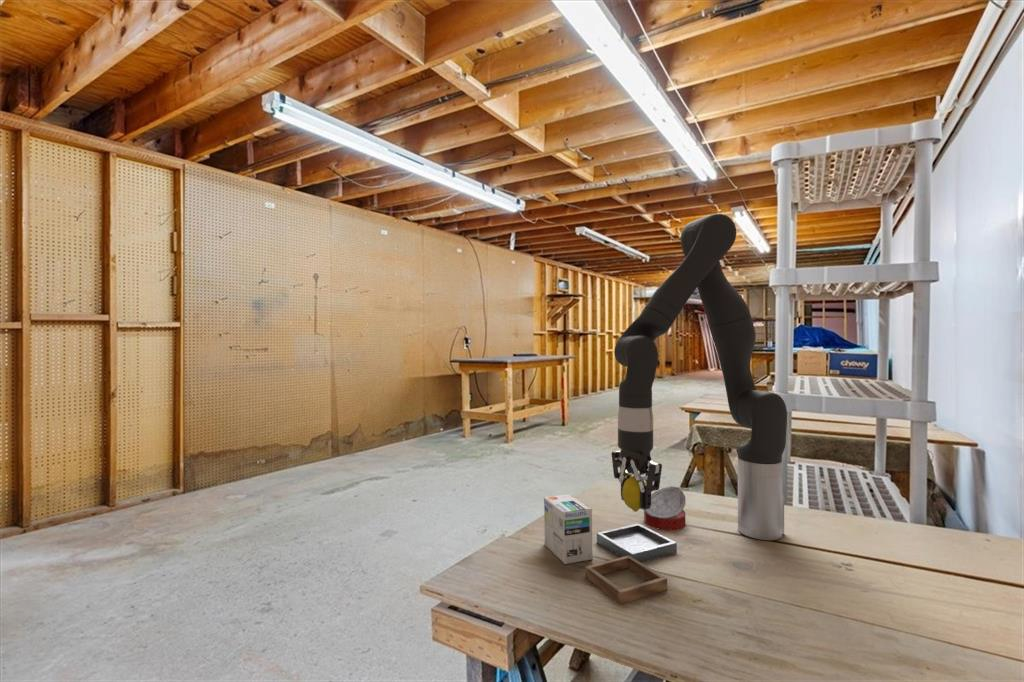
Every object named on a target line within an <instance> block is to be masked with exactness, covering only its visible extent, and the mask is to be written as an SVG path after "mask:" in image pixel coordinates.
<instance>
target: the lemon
mask: <svg viewBox="0 0 1024 682" xmlns="http://www.w3.org/2000/svg"><path fill="white" fill-rule="evenodd" d="M644 484H645V486H647V484H646V481H645V480H644ZM640 492H641V490H640V486H639V482H638V481H636V478H635V475H634V474H633V475H632V477H630V478H628V479H627V480H626V481H625V483H624V486H623V491H622V495H623V500H624V501H623V500H622V501H623V502H624V504H625V505H626V506H627V507H628V508H629V509H631V510H632V511H633V512H635V513H637V512H638V511H639V510H642V509H641V508H640Z"/></svg>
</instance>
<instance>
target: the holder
mask: <svg viewBox="0 0 1024 682" xmlns="http://www.w3.org/2000/svg"><path fill="white" fill-rule="evenodd" d="M626 569H630V570H631V571H632V572H634V573H636V574H637V575H639V576H641V577H642V578H643V579H645V580H647V581H644V582H642V583H641V582H640V583H639V584H638V583H637V584H635V585H632V586H628V587H626V588H620V587H619V586H618V585H617V584H615V583H614V582H612V581H610V580H609V579H608V578H606V577H605V576H604V575H607V574H611V573H615V572H618V571H622V570H626ZM584 570H585V571H584V572H585V573H584V574H585V575H584V577H585V579H587V580H588V581H589V582H591V583H593V584H594V585H595V586H596V587H597V588H599V589H600V590H602V591H603V592H604V593H606V595H608V596H609V597H611V598H612V599H613V600H614V601H616V602H617V603H619V604H620V605H624V604H626V603H629V602H632V601H635V600H639V599H642V598H646V597H648V596H651V595H655V594H657V593H658V594H659V593H662V592H665V591H667V590H668V578H667V577H665V576H664V575H662V574H660V573H659V572H657V571H655V570H654V569H652V568H651V567H649V566H647V565H646V564H644V563H643V562H642V563H641V562H639V561H637V560H636V559H634V558H632V557H631V556H629V555H628V556H625V557H621V558H620V557H618V558H614V559H610V560H606V561H601V562H599V563H595V564H591V565H587V566H585V567H584Z"/></svg>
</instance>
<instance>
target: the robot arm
mask: <svg viewBox="0 0 1024 682" xmlns="http://www.w3.org/2000/svg"><path fill="white" fill-rule="evenodd" d="M736 237H737V226H736V223H735V222H734V220H733V219H732V218H731V217H729V216H728V215H726V214H725V213H724V214H723V213H712V214H708V215H706V216H703V217H701V218H697V219H695V220H692V221H691V222H688V223H686V225H685V226H684V227H683V228H682V230H681V233H680V246H681V250H682V253H683V255H684V260H683V261H682V262H681V263H680V264H679V265H678V266H677V268H675V270H674V271H673V272H672V273H671V274H670V275H669V276H667V278H665V280H664V281H662V283H661V284H660V285H659V286H658V287H657V288H656V289H655V290H654V292H653V293H652V295H651V297H650V298H649V299H648V301H647V303H646V305H645V306H643V309H642V310H641V312H640V314H639V316H638V317H636V319H634V321H632V322H631V324H630V325H629V326H628V327H627V328H626V329H625V331H624V332H623V333H622V334H621V335H620V337H619V338H618V340H617V342H616V343H615V346H614V351H613V353H614V358H615V360H616V361H617V363H619V365H621V366H623V367H625V368H626V373H625V378H624V379H622V381H621V382H619V387H618V411H617V412H618V413H617V447H618V449H620V450H615V451H612V452H611V462H612V471H613V478H614V479H618V482H619V483H620V497H621V500H622V501H623V502H624V500H623V495H622V491H623V486H624V483H625V481H626V480H627V479H628V478H630V477H633V476H634V475H635V478H636V481H638V482H639V486H640V490H641V492H640V508H641V509H640V510H643V511H644V510H645V509H649V508H650V507H651V495H652V492H656V491H658V490H660V484H661V477H662V470H663V469H662V468H663V464H662V463H661V462H654V461H653V460H652V456H651V451H652V450H654V413H653V389H652V388H653V385H654V382H655V381H654V380H655V379H656V373H657V368H658V363H659V351H658V348H657V344H656V342H655V340H656V339H657V338H658V337H661V336H663V335H665V334H666V333H667V332H668V331H669V330H670V328H671V327H672V326H673V324H674V322H675V321H676V319H677V317H678V316H679V314H680V313H681V311H682V309H683V308H684V306H685V305H686V303H687V302H688V301H689V300H690V298H691V296H692V295H693V293H694V292H696V290H698V295H699V297H700V300H701V304H702V306H703V310H704V312H705V317H706V321H707V324H708V328H709V332H710V335H711V338H712V342H713V344H714V347H715V351H716V353H717V357H718V361H719V365H720V369H721V373H722V377H723V380H724V386H725V392H726V398H727V403H728V409H729V411H730V415H731V418H732V420H734V422H735V423H736V424H737V425H739V426H740V427H744V428H746V429H750V430H751V434H750V440H749V441H748V442H745V443H741V444H739V445H738V447H737V530H738V531H739V533H741V534H742V535H744V536H745V537H748V538H752V539H756V540H760V541H776V540H780V539H782V537H783V534H785V493H784V492H783V464H782V463H783V453H785V452H784V451H785V449H786V443H787V430H788V429H787V427H788V410H787V406H786V402H785V400H784V399H783V398H782V396H781V395H779V394H778V393H775V392H771V391H770V392H769V391H765V390H758V389H757V387H756V384H755V382H754V378H753V374H752V371H751V370H752V369H751V361H752V357H753V356H752V355H753V353H754V348H755V345H756V335H757V334H756V329H755V324H754V320H753V318H752V315H751V312H750V308H749V306H748V304H747V303H746V301H745V299H744V298H743V297H742V296H741V295H740V293H739V292H738V290H737V289H735V287H734V286H733V285H732V284H731V283H730V282H729V280H728V279H727V277H726V276H725V274H724V271H723V269H722V266H721V262H720V261H721V259H722V258H723V257H724V256H726V254H727V253H728V252H729V250H731V248H732V247H733V245H734V243H735V241H736ZM643 475H644V476H643ZM644 481H645V483H646V485H647V486H645V484H644Z"/></svg>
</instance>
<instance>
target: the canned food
mask: <svg viewBox="0 0 1024 682" xmlns="http://www.w3.org/2000/svg"><path fill="white" fill-rule="evenodd" d="M686 505H687V504H686V495H685V493H684V491H683V490H682V489H680V487H678V486H677V487H676V486H672V485H671V486H667V487H663V488H661V489H660V488H659V490H656V491H653V493H651V507H650V508H649V509H645V510H643V521H644V524H645V525H647V526H648V525H649V526H648V527H650V526H651V528H653V527H654V528H653V529H656V528H659V529H658V530H661V529H665V530H664V531H679V530H682V529H684V528H685V527H686V511H685V510H684V508H685V506H686ZM678 529H679V530H678Z"/></svg>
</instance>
